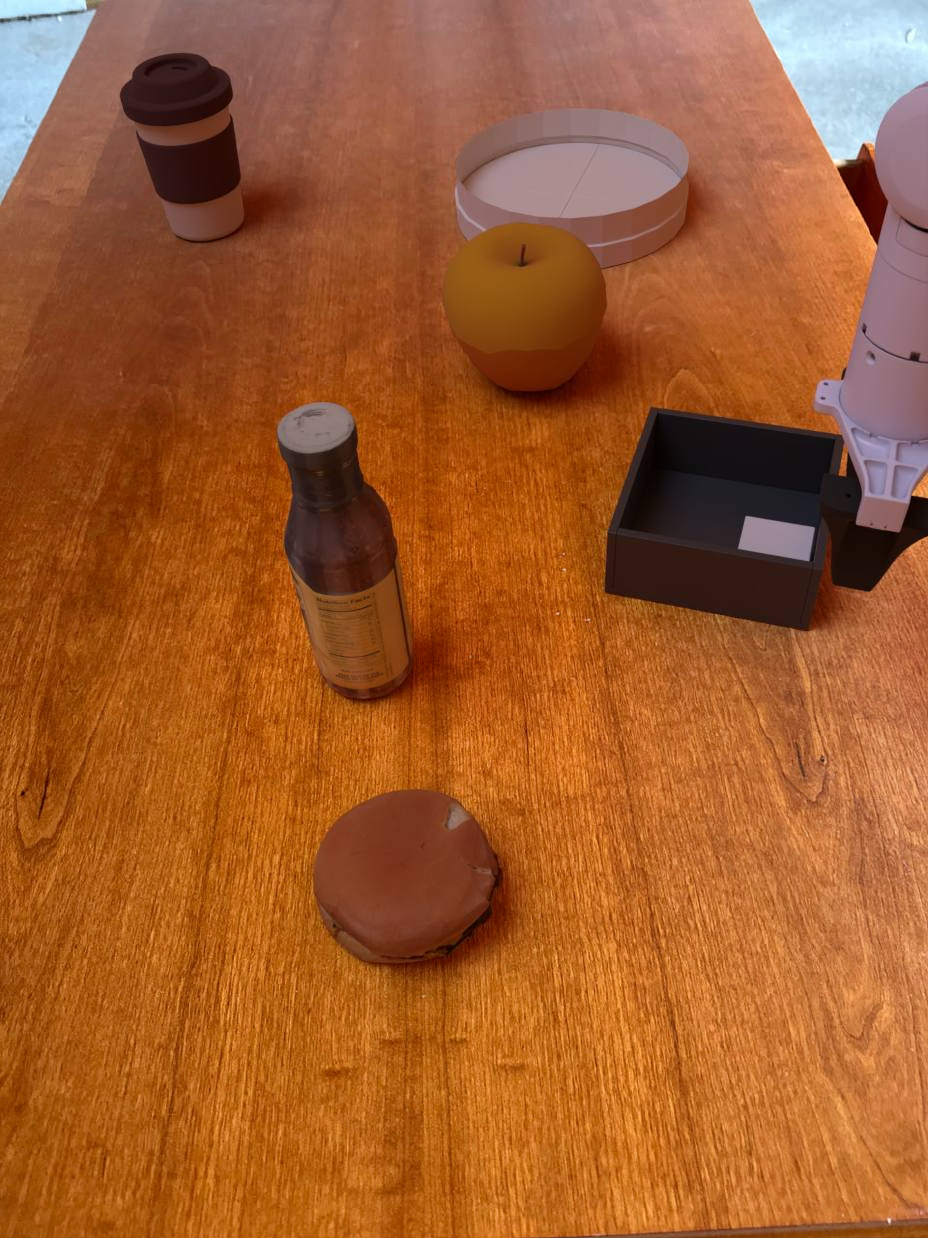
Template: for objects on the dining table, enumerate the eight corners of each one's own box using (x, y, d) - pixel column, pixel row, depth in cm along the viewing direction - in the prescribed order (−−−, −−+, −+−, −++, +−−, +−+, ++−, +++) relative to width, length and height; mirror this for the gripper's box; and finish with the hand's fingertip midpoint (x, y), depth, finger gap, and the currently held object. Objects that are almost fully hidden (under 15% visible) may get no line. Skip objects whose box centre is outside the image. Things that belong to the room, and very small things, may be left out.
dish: (423, 254, 106) (418, 203, 102) (495, 146, 119) (493, 98, 116) (659, 284, 100) (663, 232, 96) (707, 167, 114) (712, 117, 110)
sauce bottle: (344, 621, 75) (293, 370, 60) (431, 644, 73) (400, 391, 59) (299, 695, 71) (232, 446, 56) (390, 721, 69) (346, 470, 55)
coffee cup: (185, 261, 107) (143, 101, 96) (141, 222, 113) (96, 66, 102) (277, 225, 111) (246, 67, 100) (229, 189, 117) (194, 35, 106)
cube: (806, 566, 75) (815, 527, 73) (798, 609, 73) (807, 570, 70) (739, 555, 76) (745, 515, 74) (729, 596, 74) (735, 557, 71)
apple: (506, 441, 87) (501, 310, 78) (416, 362, 94) (403, 235, 86) (638, 378, 91) (647, 248, 83) (542, 307, 99) (541, 181, 90)
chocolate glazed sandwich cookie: (284, 920, 61) (269, 876, 57) (384, 793, 66) (376, 745, 62) (439, 1013, 57) (433, 971, 53) (533, 870, 62) (532, 824, 59)
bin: (830, 496, 81) (845, 434, 76) (808, 631, 72) (823, 570, 68) (646, 466, 84) (650, 406, 80) (604, 592, 76) (607, 532, 72)
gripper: (850, 235, 58) (802, 440, 69) (815, 407, 50) (766, 614, 60) (995, 253, 57) (924, 461, 67) (987, 435, 48) (906, 643, 58)
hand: (859, 535), depth 63 cm, fingers open, 7 cm apart
